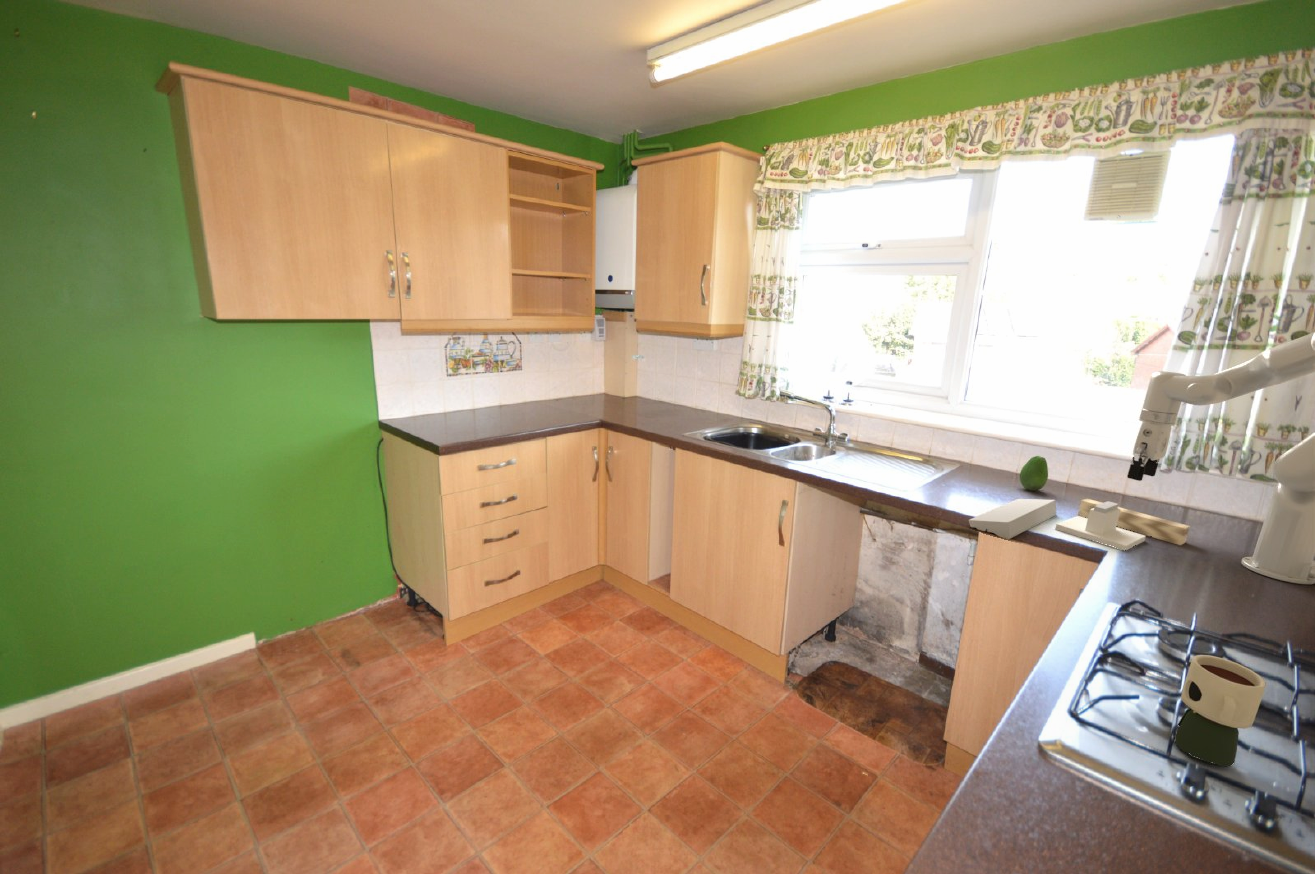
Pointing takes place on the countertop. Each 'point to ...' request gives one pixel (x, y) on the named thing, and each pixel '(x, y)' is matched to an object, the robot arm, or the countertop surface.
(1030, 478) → the fruit
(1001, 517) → the white flat block
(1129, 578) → the countertop surface
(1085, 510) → the beech batten
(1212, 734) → the character mug
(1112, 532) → the balance stand
